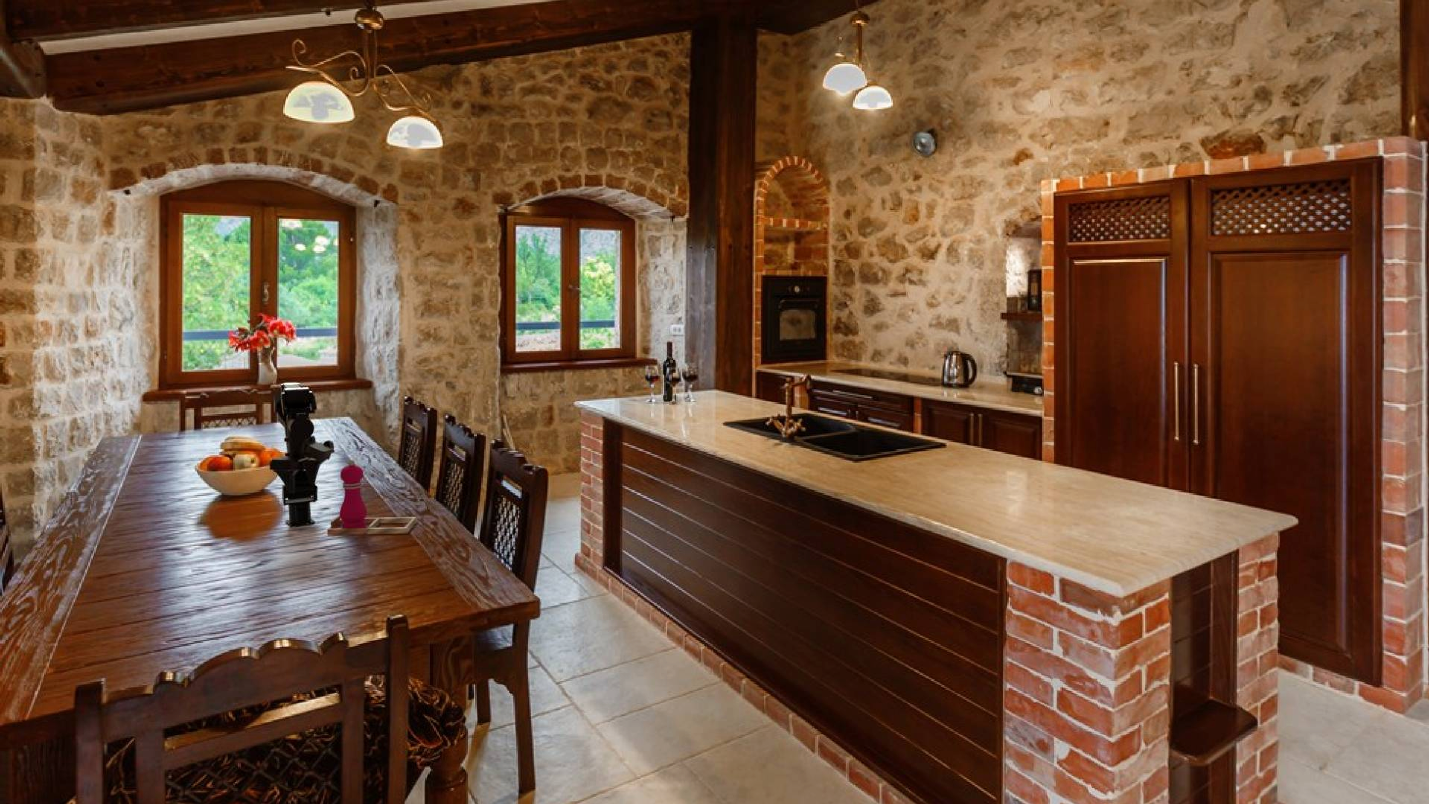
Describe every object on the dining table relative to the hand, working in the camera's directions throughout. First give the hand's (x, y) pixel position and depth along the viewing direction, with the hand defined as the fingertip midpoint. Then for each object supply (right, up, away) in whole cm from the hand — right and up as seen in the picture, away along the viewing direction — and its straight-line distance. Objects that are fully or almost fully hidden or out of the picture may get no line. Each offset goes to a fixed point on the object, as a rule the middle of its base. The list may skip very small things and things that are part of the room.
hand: (302, 488), depth 226 cm
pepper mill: (+11, -12, +8) cm, 18 cm away
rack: (+16, -12, +8) cm, 22 cm away
